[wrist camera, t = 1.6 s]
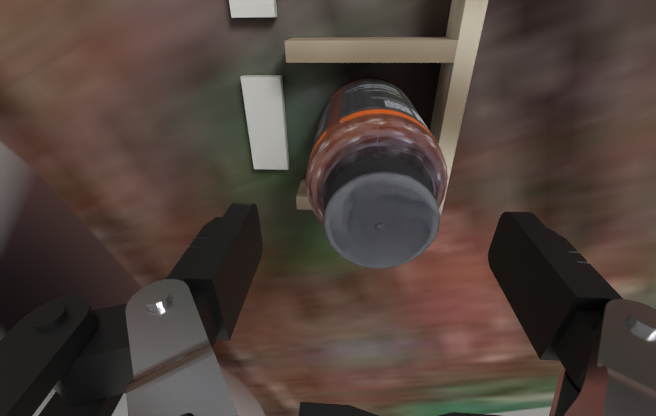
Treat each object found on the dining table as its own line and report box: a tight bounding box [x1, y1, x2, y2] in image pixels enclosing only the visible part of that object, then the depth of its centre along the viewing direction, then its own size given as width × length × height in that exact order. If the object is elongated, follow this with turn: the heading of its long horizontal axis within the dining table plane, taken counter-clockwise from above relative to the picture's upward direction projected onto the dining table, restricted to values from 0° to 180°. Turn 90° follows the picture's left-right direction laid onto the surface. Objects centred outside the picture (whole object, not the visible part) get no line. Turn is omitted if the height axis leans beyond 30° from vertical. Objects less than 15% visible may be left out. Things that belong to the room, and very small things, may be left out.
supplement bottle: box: [306, 78, 448, 268], centre depth 15 cm, size 6×6×11 cm
